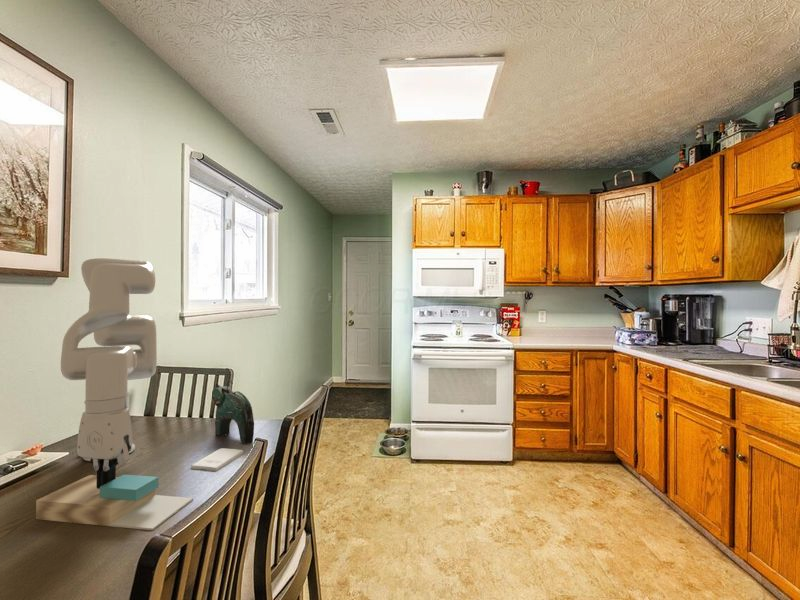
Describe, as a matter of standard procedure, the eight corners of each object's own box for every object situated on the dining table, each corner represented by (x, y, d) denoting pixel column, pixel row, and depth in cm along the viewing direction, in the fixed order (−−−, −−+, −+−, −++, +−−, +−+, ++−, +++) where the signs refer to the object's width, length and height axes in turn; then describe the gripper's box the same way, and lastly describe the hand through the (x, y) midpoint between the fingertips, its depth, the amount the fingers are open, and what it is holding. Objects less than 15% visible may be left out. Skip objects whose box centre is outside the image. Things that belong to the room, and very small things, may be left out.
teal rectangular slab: (99, 498, 81) (99, 486, 81) (124, 484, 87) (124, 474, 87) (136, 501, 80) (136, 489, 80) (158, 487, 86) (158, 476, 86)
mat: (109, 526, 78) (109, 524, 78) (155, 496, 90) (155, 494, 90) (152, 530, 76) (152, 528, 76) (193, 499, 88) (193, 498, 88)
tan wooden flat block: (36, 519, 80) (36, 500, 80) (89, 491, 92) (89, 475, 92) (109, 526, 78) (109, 506, 78) (155, 496, 90) (155, 479, 90)
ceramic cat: (209, 434, 132) (209, 378, 132) (226, 429, 137) (227, 375, 137) (242, 447, 121) (242, 385, 121) (259, 441, 126) (259, 381, 126)
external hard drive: (243, 455, 116) (216, 473, 104) (219, 453, 117) (190, 470, 105) (243, 449, 116) (216, 467, 104) (219, 447, 117) (190, 464, 105)
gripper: (61, 408, 82) (60, 491, 82) (121, 411, 80) (120, 497, 80) (94, 399, 90) (93, 476, 90) (149, 401, 88) (148, 480, 87)
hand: (106, 485), depth 85 cm, fingers closed
